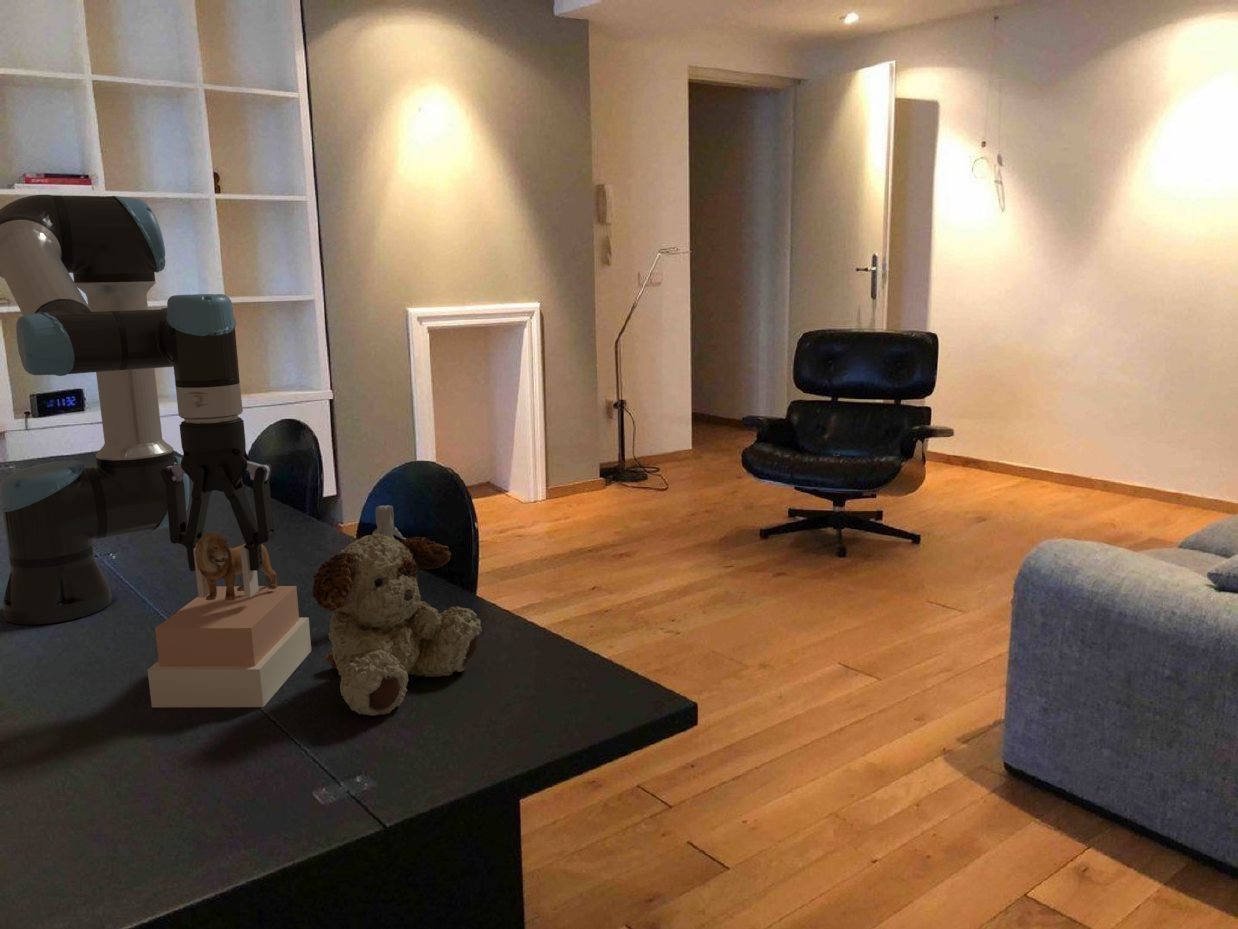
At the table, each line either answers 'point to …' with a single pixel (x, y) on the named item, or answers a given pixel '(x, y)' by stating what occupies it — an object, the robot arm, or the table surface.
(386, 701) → the dog
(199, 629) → the stacked block pedestal
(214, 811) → the table surface
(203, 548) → the lion figurine
